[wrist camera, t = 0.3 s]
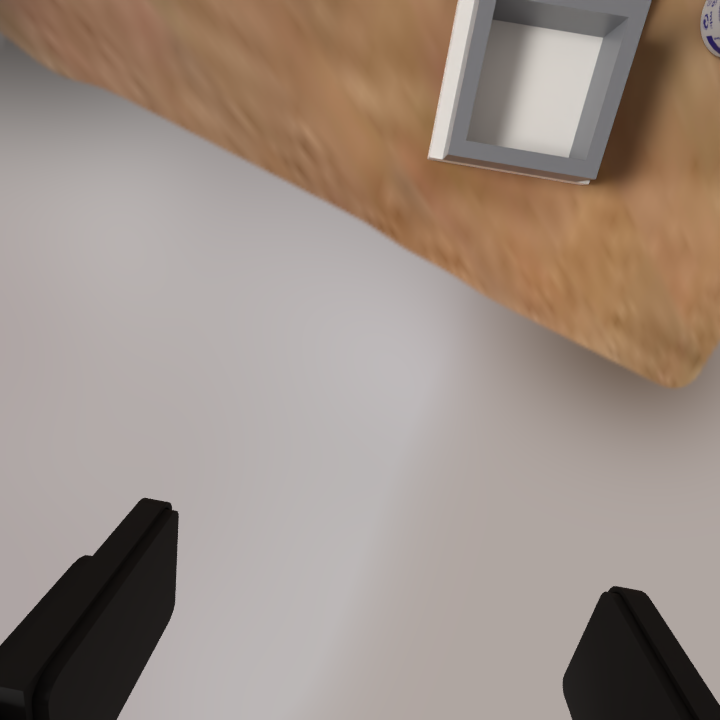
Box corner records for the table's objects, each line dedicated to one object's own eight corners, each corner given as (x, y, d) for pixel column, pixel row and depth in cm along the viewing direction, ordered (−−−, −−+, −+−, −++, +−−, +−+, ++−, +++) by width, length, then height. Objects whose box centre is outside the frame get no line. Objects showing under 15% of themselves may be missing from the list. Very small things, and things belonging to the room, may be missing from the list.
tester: (493, -185, 28) (514, -264, 23) (683, -155, 28) (742, -228, 23) (427, 159, 35) (432, 151, 30) (580, 185, 35) (610, 181, 30)
